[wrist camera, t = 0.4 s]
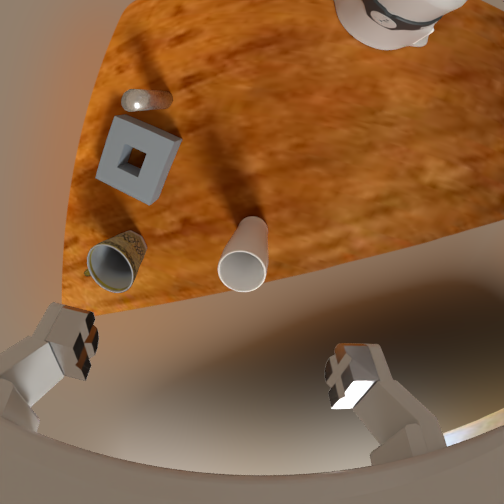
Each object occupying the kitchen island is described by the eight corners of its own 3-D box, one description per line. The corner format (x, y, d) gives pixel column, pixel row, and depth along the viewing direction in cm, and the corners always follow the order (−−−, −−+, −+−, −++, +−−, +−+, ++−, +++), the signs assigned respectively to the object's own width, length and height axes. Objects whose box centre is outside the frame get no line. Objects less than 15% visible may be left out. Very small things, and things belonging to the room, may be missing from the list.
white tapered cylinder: (278, 237, 55) (275, 282, 42) (245, 251, 57) (232, 299, 44) (261, 204, 52) (251, 241, 39) (227, 220, 54) (207, 261, 41)
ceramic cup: (142, 216, 56) (117, 238, 47) (162, 261, 60) (142, 288, 51) (94, 233, 59) (68, 254, 50) (114, 273, 63) (92, 298, 54)
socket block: (125, 114, 47) (114, 115, 44) (182, 139, 48) (174, 141, 45) (106, 172, 52) (95, 177, 49) (158, 198, 54) (149, 205, 50)
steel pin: (160, 88, 45) (126, 86, 34) (175, 94, 45) (145, 93, 34) (152, 105, 46) (118, 107, 35) (168, 111, 46) (136, 114, 36)
